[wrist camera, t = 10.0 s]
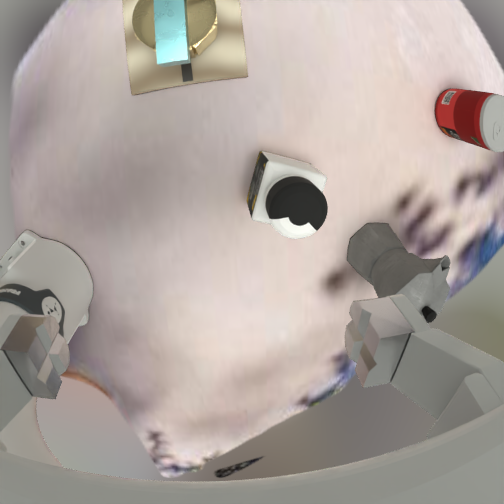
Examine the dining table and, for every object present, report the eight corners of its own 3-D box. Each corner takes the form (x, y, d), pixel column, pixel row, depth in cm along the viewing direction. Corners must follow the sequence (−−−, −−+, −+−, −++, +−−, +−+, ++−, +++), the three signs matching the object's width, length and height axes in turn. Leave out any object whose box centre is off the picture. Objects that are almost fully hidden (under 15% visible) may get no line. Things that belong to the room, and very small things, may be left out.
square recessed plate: (246, 77, 35) (252, 72, 29) (134, 95, 34) (119, 94, 28) (235, -20, 28) (239, -39, 22) (125, -2, 27) (110, -16, 22)
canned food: (433, 136, 40) (481, 152, 30) (432, 85, 36) (482, 90, 26) (467, 137, 40) (514, 153, 30) (467, 90, 36) (515, 98, 27)
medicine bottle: (259, 149, 39) (275, 170, 29) (311, 163, 41) (344, 189, 30) (245, 201, 42) (256, 239, 32) (296, 212, 44) (321, 252, 33)
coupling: (214, -16, 26) (213, -49, 17) (219, 67, 31) (220, 55, 22) (145, -6, 26) (123, -34, 17) (149, 76, 31) (126, 69, 22)
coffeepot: (370, 199, 44) (441, 258, 28) (412, 223, 46) (482, 282, 30) (321, 284, 50) (362, 367, 34) (365, 299, 52) (412, 374, 36)
